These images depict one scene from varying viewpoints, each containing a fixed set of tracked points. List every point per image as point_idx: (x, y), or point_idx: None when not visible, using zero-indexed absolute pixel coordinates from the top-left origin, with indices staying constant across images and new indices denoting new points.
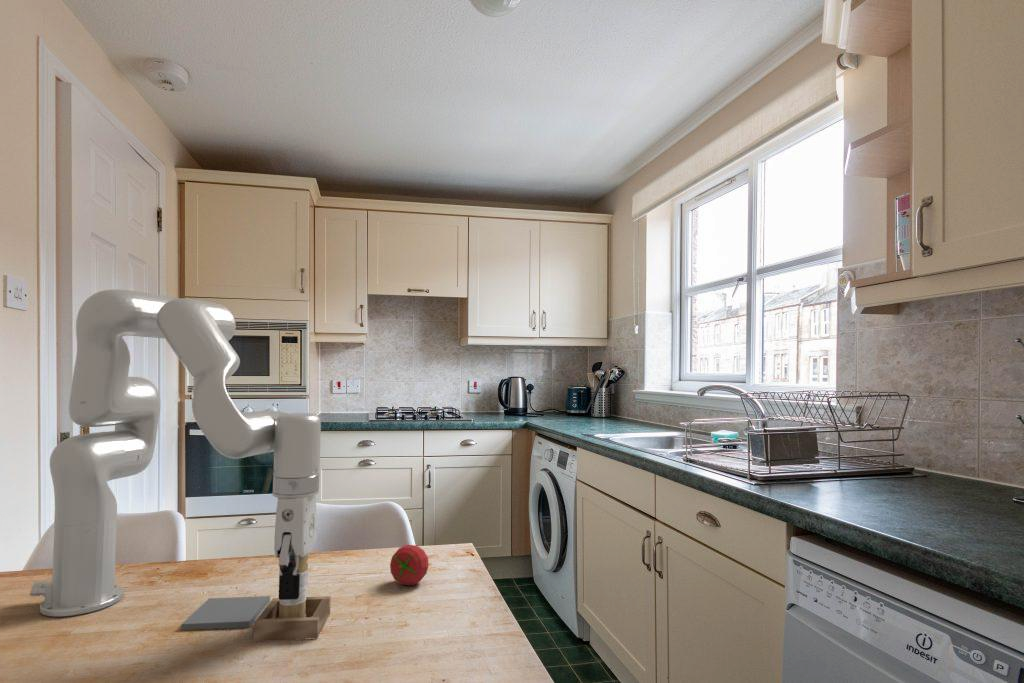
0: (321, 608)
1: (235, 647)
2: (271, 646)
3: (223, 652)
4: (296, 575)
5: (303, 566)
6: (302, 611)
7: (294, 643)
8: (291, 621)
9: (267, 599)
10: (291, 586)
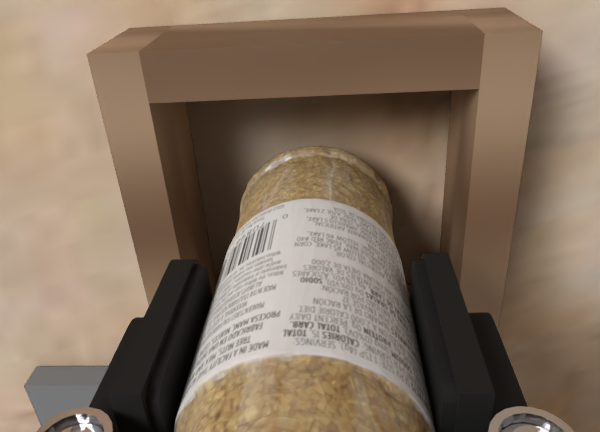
0: (327, 60)
1: (510, 356)
2: (539, 225)
3: (546, 381)
4: (542, 413)
5: (374, 425)
6: (347, 179)
7: (533, 125)
8: (514, 201)
9: (60, 384)
10: (505, 363)
